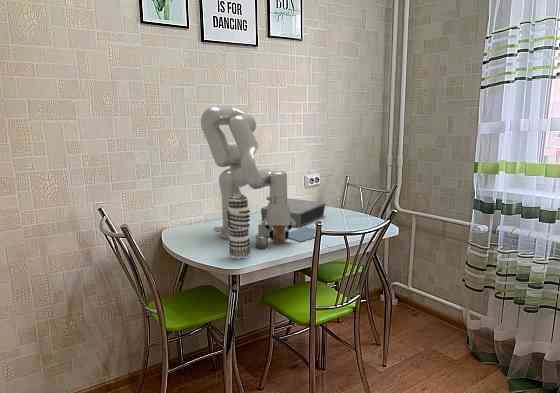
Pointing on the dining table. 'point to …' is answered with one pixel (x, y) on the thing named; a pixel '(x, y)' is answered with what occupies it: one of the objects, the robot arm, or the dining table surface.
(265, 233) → the sage cube
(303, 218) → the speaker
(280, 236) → the walnut block
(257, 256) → the dining table surface
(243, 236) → the decorative candle
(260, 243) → the grey cylinder
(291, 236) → the mat
